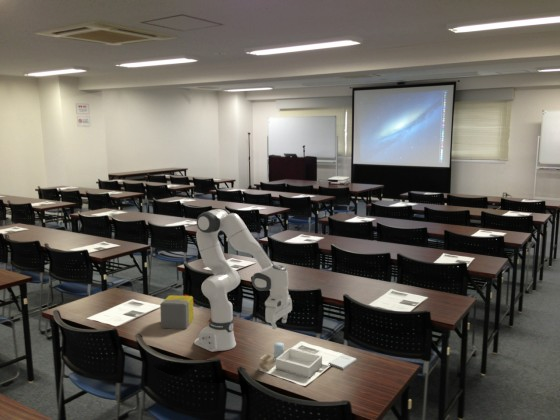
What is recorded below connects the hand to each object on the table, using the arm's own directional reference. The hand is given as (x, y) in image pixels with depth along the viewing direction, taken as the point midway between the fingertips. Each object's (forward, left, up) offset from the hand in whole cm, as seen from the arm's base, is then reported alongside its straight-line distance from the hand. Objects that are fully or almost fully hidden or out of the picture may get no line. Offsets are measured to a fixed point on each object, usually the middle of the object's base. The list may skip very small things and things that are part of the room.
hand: (279, 325), depth 227 cm
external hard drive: (+29, +11, -17) cm, 36 cm away
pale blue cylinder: (0, 0, -17) cm, 17 cm away
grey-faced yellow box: (-75, +12, -17) cm, 78 cm away
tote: (+13, -4, -17) cm, 22 cm away
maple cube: (0, -11, -17) cm, 20 cm away
